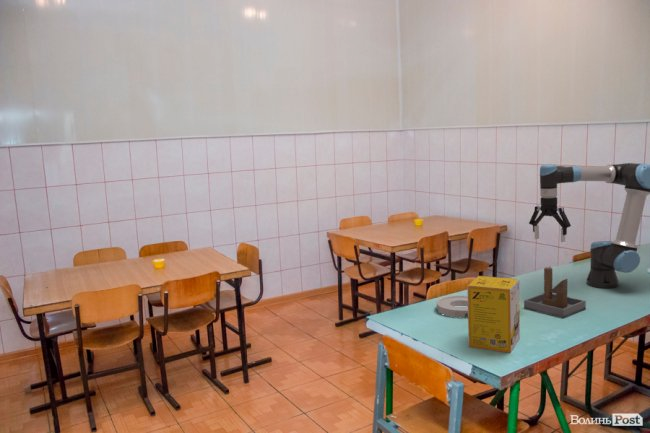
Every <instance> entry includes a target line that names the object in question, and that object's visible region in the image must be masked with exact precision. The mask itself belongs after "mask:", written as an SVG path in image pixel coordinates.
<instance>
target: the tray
mask: <svg viewBox="0 0 650 433" xmlns="http://www.w3.org/2000/svg"><path fill="white" fill-rule="evenodd" d="M543 297H544V292H543V293H541V294H537V295H535V296H533V297H529V298H527V299H524V300H523V308H524V310H529V311H533V312H536V313H541V314H545V315H548V316H552V317H557V318H560V319H566V318H568V317H570V316H572V315H575V314H578V313H581V312H583V311H585V310H586V305H587V301H586V300H583V299H580V298H579V299H578V298H575V297H570V296H567V307H566V308H564V309H561V308H557V307H553V306H548V305H544V304H542V298H543ZM552 298H556V293H552Z"/></svg>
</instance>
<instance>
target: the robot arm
mask: <svg viewBox="0 0 650 433" xmlns="http://www.w3.org/2000/svg"><path fill="white" fill-rule="evenodd" d="M576 182H605V183H606V184H615V185H621V186H624V190H625V192H626V196H625V200H624V203H623V207H622V212H621V216H620V222H619V225H618V229H617V232H616V233H617V234H616V238H615V239H614V240H612V241H611V240H603V241H593V242H592V243H591V244H590V270H589V273H588V275H587V278H586V284H587V285H588V286H590V287H593V288H599V289H611V288H612V289H613V288H617V287H619V286H620V285H619V283H620V282H619V281H620V280H619V278H618V275H617V272H620V273H624V274H625V273H627V274H628V273H632V272H633V271H635V270H637V268H638V267H639V265H640V262H641V256H640V254H639V253H638V246H637V244H636V241H637V237H638V232H639V229H640V224H641V219H642V216H643V211H644V207H645V203H646V199H647V196H649V195H650V164H648V163H635V162H634V163H633V162H628V163H627V162H626V163H619V164H618V163H617V164H606V165H605V166H597V165H596V166H593V165H592V166H591V165H588V166H587V165H585V166H583V165H581V166H580V165H562V166H561V165H557V164H552V163H551V164H549V163H548V164H542V165H540V167H539V183H540V184H539V187H540V188H539V190H540V191H539V192H540V205H536V206H534V211H533V213H532V216H531V218H530V220H529V222H528V224H529V225H531V226H532V232H533V233H534V240H538V239H540V228H539V227H540V225H539V223H540V222H541V221H542V220H543V218H544V217H553V218H554V220H555V221H556V222H557V223H558V225H559V226H560V227H561V228H560V242H561V243H563V242H566V236H567V234H568V232H567V231H568V228H570V227H572V225H571V222H570V221H569V219H568V217H567V214H566V212H565V207H564V206H561V207H558V184H566V183H567V184H568V183H570V184H571V183H576ZM540 211H541V212H540Z"/></svg>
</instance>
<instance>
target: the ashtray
mask: <svg viewBox="0 0 650 433" xmlns="http://www.w3.org/2000/svg"><path fill="white" fill-rule="evenodd" d="M455 306H467V307H455ZM437 310H439V311H438V314H439V313H441V314H444V315H447V316H452V317H451V318H453V317H461V318H460V319H465V318H466V317H468V295H452V296H451V295H450V296H446V297H442V298H440V299H438V300H437V301H436V311H437ZM441 314H440V315H441ZM444 315H443V316H444ZM447 316H446V317H447Z"/></svg>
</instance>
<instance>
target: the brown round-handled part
mask: <svg viewBox="0 0 650 433" xmlns="http://www.w3.org/2000/svg"><path fill="white" fill-rule="evenodd" d="M543 268H544V269H543V293H544V297H543V298H542V304H544V305H548V306H553V307H557V308H561V309H564V308H566V307H567V297H568V278H565V279H562V280H561V281H560V282H559V283H558V284H556V285H555V286H554V287H553V268H552V267H548V266H547V267H543ZM552 294H556V298H552Z"/></svg>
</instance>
